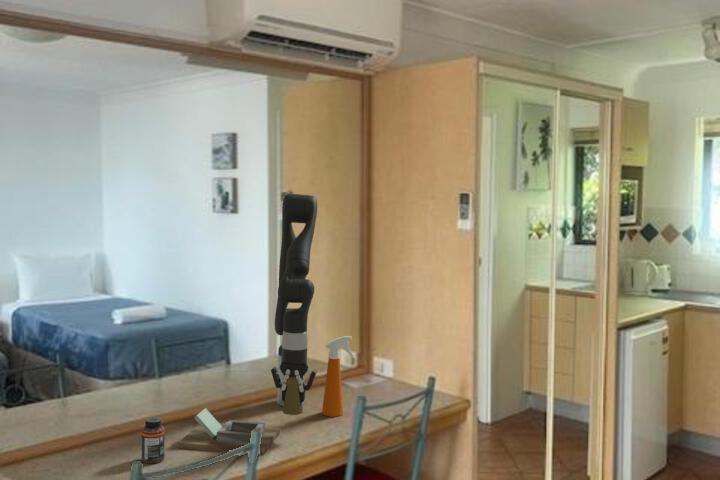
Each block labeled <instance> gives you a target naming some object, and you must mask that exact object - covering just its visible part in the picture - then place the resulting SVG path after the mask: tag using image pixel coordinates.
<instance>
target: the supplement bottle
mask: <svg viewBox="0 0 720 480" xmlns="http://www.w3.org/2000/svg"><path fill="white" fill-rule="evenodd" d="M165 433H166V430H165V427H164V426H163V425H162V419H161V418H160V417H158V416H157V417H156V416H154V417H153V416H151V417H148V418H146V419H145V425H144V426H143V428H142V429H141V461H142V462H143V463H146V464H157V463H160V462H162V461H164V459H165V439H166V438H165V435H166V434H165Z"/></svg>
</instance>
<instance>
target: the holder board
mask: <svg viewBox="0 0 720 480" xmlns="http://www.w3.org/2000/svg"><path fill="white" fill-rule="evenodd" d="M219 424H220V425H221V426H222V428H221V429H220V430H219V431H218V432H217V437H216V438H215V439H212V437H211V436H210V435H209V434H208V433H207V432H206V431H205V430H204V428H203V427H202V426H201V425H200V424H199V423H198V425H197V426H195V427H194V428H193V429H192V430H191V431H189V432H188V433H187V434H186V435H185V436H184V437H183V438H181V439H180V440H179V441H178V442H177V443H178V445H177V448H178V449H179V448H180V449H187V448H189V449H188V450H198V451H199V450H200V451H201V450H202V451H212V452H213V451H215V452H224V453H227V452H226V451H229V450H233V449H236V448H239V447H241V446H244V445H246V444H248V443H250V438H251V431H252V430H253V429H259V430H261V432H262V437H261V444H260V455H259V456H264V455H265V454H266V453H267V452H268V450H269V448H270V447H271V446H272V444H273V443H274V442H275V440H276V439H277V438H278V436H279V435H280V433H281V429H280V428H276V427H266V423H265V422H260V421H259V422H258V421H248V420H247V421H246V420H235V419H234V420H233V419H232V420H231V419H229V420H228V421H227V422H225V423H219Z"/></svg>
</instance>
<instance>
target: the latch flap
mask: <svg viewBox="0 0 720 480" xmlns="http://www.w3.org/2000/svg"><path fill="white" fill-rule="evenodd" d="M193 418H194V420H195V421H196V422H197V423H198V425H199V424H200V425H201V426H202V427H203V428H204V430H205V431H206V432H207V433H208V434H209V435H210V436H211V437H212V439H215V438H216V437H217V432H218V431H219V430H220V429H221V428H222V426H221V425H220V424H221V423H220V422H219V421H218V420H217V419H216V418H215V417H214V415H212V412H210V411H209V410H208V409H207V408H206V407H205V408H204V409H203V410H201V411H200V412H199V413H198V414H197V415H195V416H194V417H193Z"/></svg>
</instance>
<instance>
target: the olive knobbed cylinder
mask: <svg viewBox="0 0 720 480" xmlns="http://www.w3.org/2000/svg"><path fill="white" fill-rule="evenodd" d="M301 380H302V378H301ZM285 384H286V386H287V388H286V397H285V402H284V406H282V413H283V414H285V415H290V416H297V415H300V414H303V413H304V408H303V405H302V404H300V398H299V392H300V389H299V386H300V385H299V381H298V379H296V377H289V378H288V379H287V380H286V383H285Z"/></svg>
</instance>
